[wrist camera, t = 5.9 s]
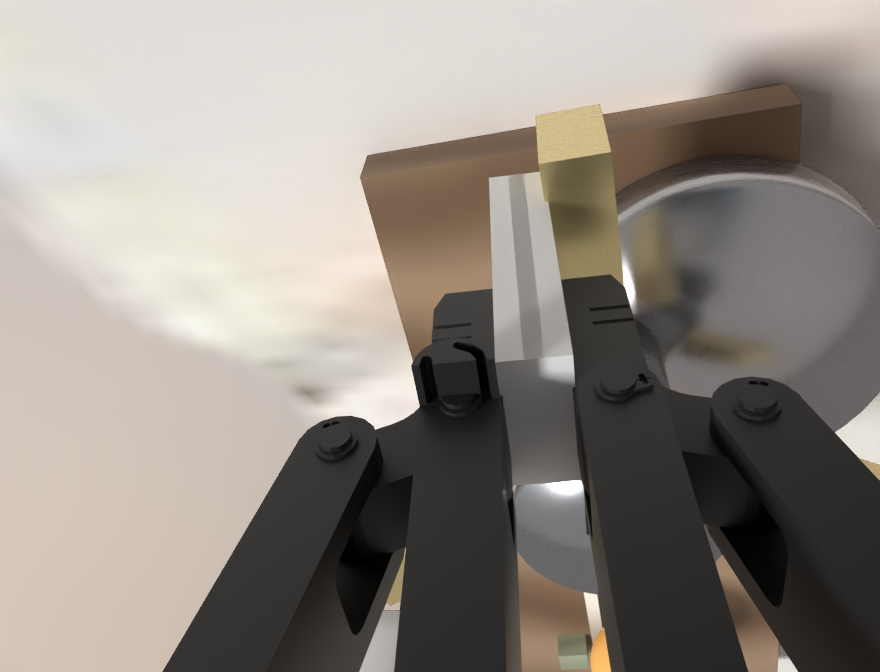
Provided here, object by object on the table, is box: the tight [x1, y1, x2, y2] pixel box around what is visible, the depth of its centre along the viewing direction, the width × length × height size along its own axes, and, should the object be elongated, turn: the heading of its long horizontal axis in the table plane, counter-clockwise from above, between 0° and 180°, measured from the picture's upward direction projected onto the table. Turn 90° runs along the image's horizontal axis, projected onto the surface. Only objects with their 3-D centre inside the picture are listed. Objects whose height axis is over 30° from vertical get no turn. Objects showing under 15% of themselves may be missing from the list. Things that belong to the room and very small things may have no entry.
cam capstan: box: [387, 104, 880, 605], centre depth 22 cm, size 16×14×8 cm
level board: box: [360, 83, 802, 672], centre depth 31 cm, size 27×12×2 cm, turn 12°
